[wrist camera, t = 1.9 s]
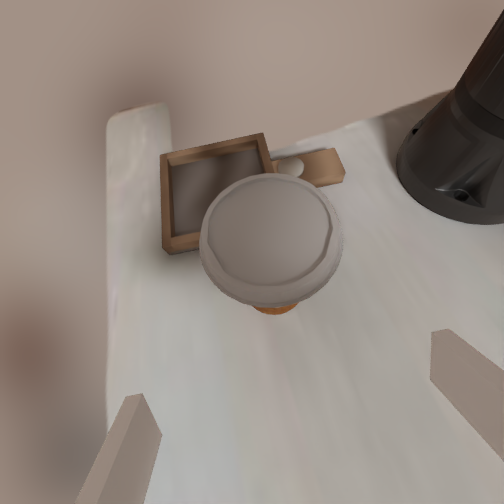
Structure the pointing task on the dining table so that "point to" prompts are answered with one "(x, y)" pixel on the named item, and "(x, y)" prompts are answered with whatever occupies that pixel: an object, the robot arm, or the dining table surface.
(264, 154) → the tray
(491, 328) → the dining table surface
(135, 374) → the dining table surface
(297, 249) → the disposable coffee cup
